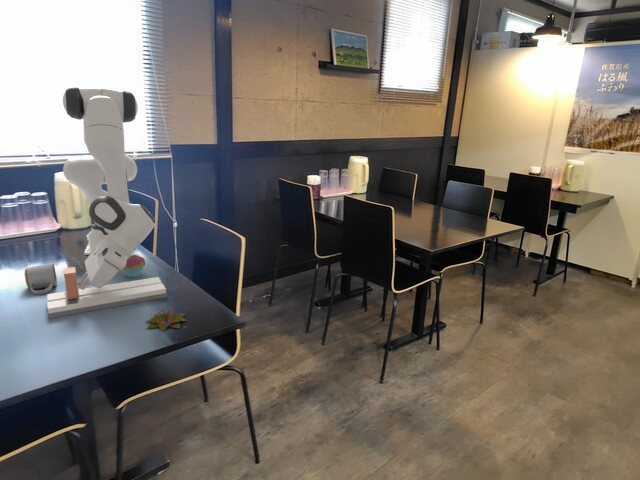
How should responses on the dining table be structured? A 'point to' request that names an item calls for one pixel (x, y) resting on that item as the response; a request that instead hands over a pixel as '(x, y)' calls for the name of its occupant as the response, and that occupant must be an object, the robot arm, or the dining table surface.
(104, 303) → the white slider track base
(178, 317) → the lily flower
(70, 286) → the fader
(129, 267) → the cupcake
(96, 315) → the dining table surface
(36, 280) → the ceramic mug
